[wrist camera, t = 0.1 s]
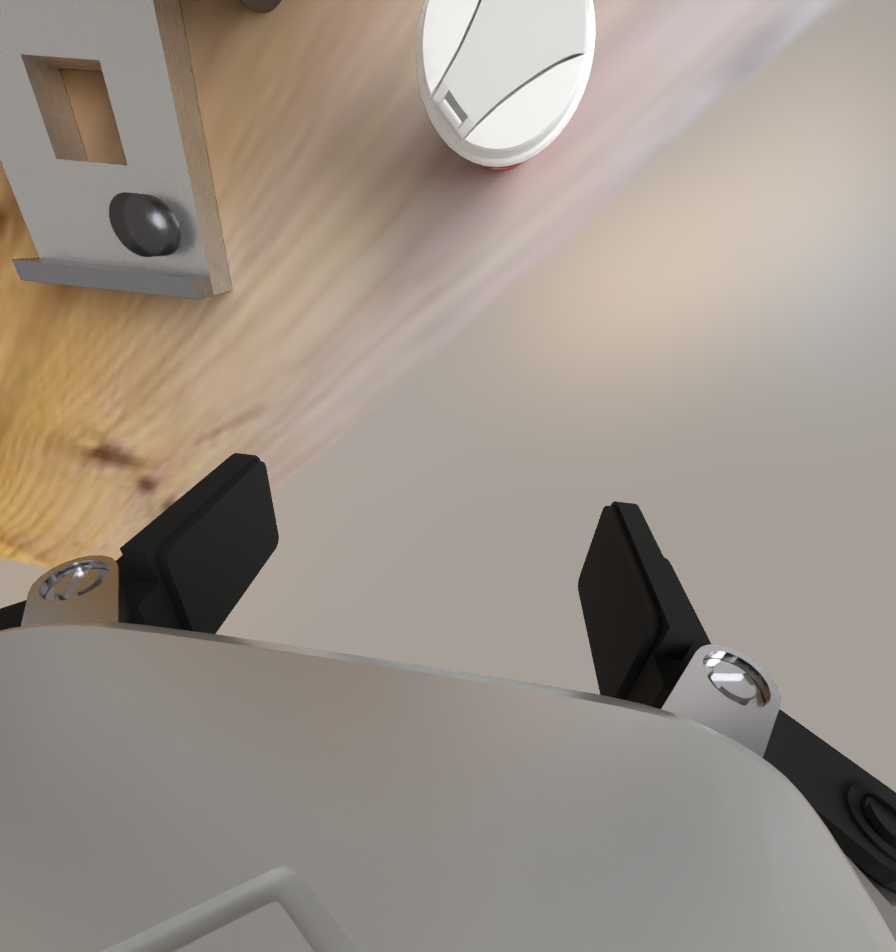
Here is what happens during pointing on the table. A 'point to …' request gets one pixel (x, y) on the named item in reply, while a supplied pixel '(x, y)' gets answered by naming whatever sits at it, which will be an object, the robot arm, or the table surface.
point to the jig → (143, 140)
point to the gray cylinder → (261, 4)
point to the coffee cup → (503, 73)
